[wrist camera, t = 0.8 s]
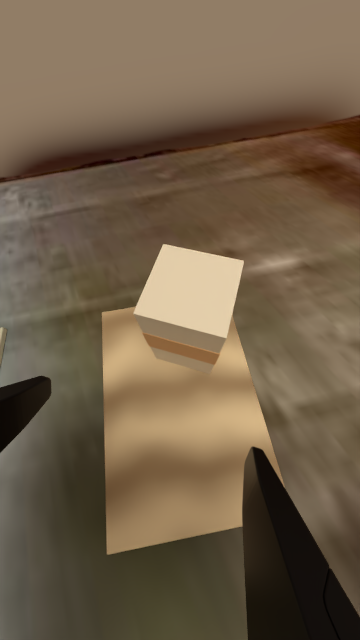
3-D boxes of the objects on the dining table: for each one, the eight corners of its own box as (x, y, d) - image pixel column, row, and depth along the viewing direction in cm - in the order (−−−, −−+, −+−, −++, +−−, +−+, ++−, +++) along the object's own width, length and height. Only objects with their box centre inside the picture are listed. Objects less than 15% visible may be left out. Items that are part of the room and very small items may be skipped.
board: (282, 505, 18) (293, 515, 16) (115, 541, 18) (106, 554, 16) (222, 300, 26) (225, 291, 25) (107, 320, 26) (101, 312, 24)
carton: (210, 374, 21) (227, 339, 12) (155, 358, 22) (132, 314, 13) (222, 323, 23) (245, 260, 14) (172, 310, 24) (163, 243, 15)
